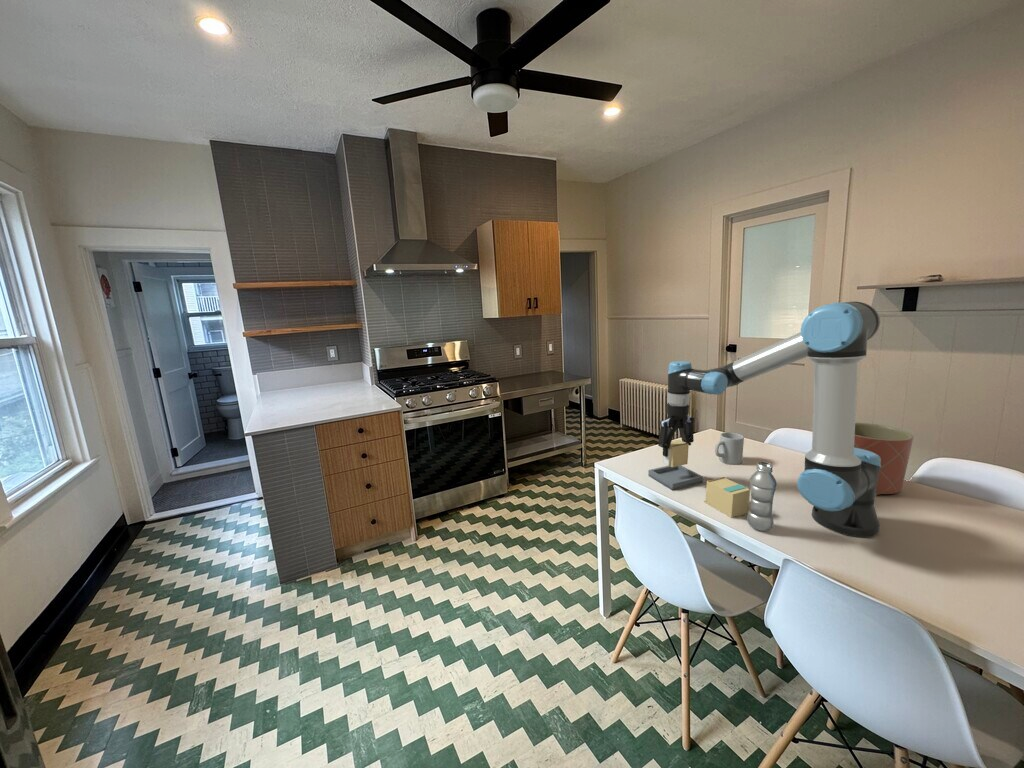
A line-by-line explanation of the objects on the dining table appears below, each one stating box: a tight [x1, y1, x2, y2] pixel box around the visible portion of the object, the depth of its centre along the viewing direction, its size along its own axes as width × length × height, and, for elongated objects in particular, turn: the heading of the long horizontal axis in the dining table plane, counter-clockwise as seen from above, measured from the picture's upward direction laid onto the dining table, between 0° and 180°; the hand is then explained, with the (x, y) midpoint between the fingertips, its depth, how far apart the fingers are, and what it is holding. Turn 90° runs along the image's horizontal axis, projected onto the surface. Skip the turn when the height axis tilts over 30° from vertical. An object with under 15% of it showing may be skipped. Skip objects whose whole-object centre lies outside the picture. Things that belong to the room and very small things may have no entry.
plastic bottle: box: [746, 461, 778, 532], centre depth 112 cm, size 6×7×20 cm
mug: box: [714, 432, 745, 466], centre depth 159 cm, size 12×8×11 cm
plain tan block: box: [662, 439, 689, 467], centre depth 145 cm, size 5×7×8 cm
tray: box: [647, 465, 704, 491], centre depth 147 cm, size 13×14×2 cm
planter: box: [854, 422, 914, 496], centre depth 134 cm, size 19×19×20 cm
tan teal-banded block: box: [703, 476, 751, 519], centre depth 125 cm, size 11×7×8 cm, turn 20°
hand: (675, 462), depth 146 cm, fingers closed on plain tan block, 7 cm apart
